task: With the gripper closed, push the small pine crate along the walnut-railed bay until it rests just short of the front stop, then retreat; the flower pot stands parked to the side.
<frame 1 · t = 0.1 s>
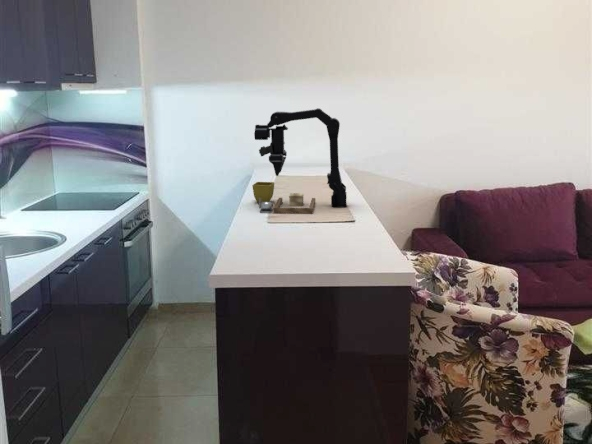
hand: (278, 174, 286), 15 cm above the table, fingers open, 9 cm apart
bay: (295, 207, 283), on the table
flower pot: (263, 202, 296), on the table
crate: (296, 204, 290), on the table
winch drum: (266, 211, 276), on the table
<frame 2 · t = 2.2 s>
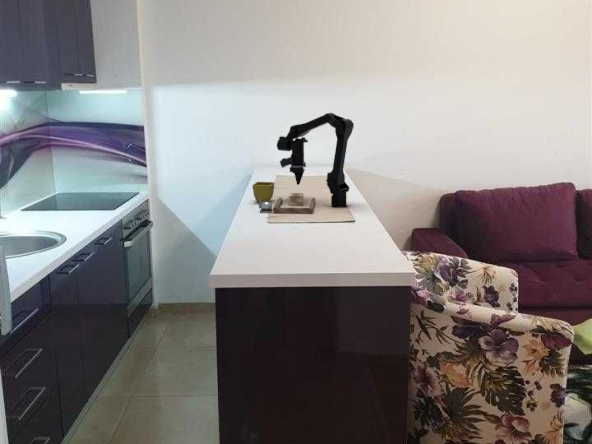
hand: (298, 184, 297), 8 cm above the table, fingers closed
nothing on the table moved.
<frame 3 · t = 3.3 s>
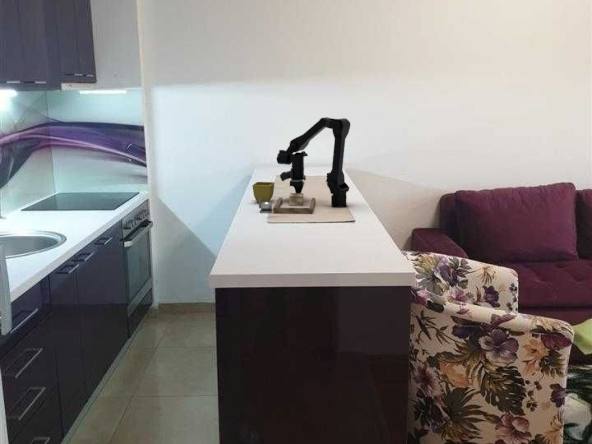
hand: (298, 197, 298), 1 cm above the table, fingers closed
nothing on the table moved.
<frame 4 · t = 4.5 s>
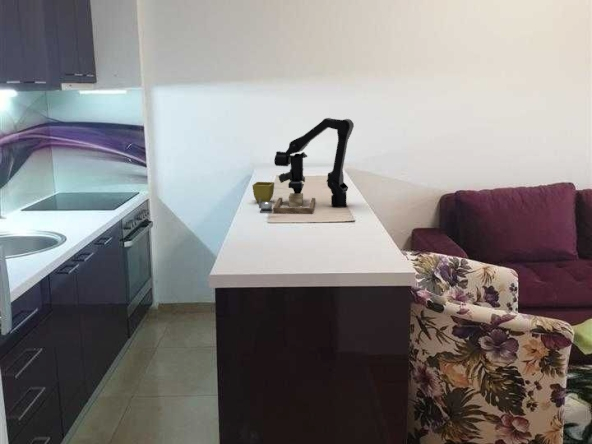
hand: (297, 199, 293), 2 cm above the table, fingers closed
crate: (296, 205, 289), on the table, touching gripper
everything else where it was.
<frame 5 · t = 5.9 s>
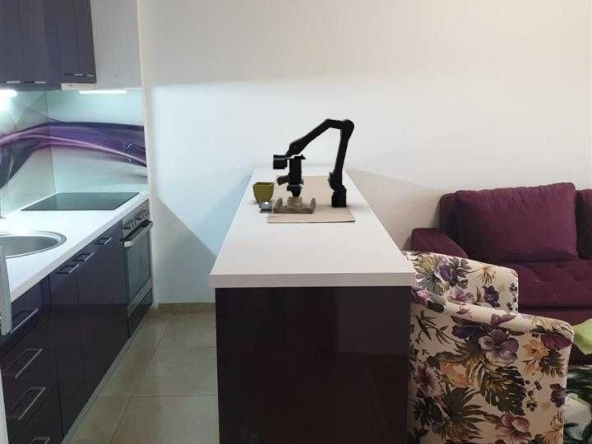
hand: (295, 203, 286), 2 cm above the table, fingers closed
crate: (294, 208, 281), on the table, touching gripper
everything else where it was.
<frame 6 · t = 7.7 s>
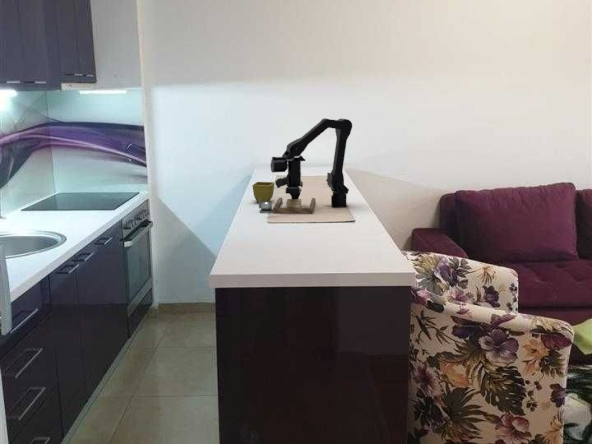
hand: (294, 205, 280), 2 cm above the table, fingers closed
crate: (293, 211, 276), on the table, touching gripper
everything else where it was.
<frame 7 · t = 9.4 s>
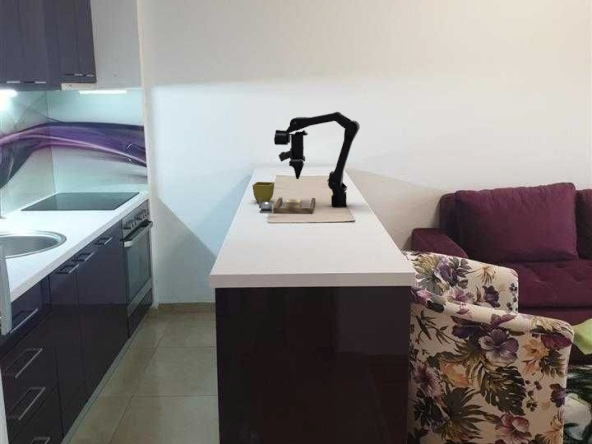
hand: (297, 179, 288), 12 cm above the table, fingers closed
crate: (293, 211, 276), on the table
everything else where it was.
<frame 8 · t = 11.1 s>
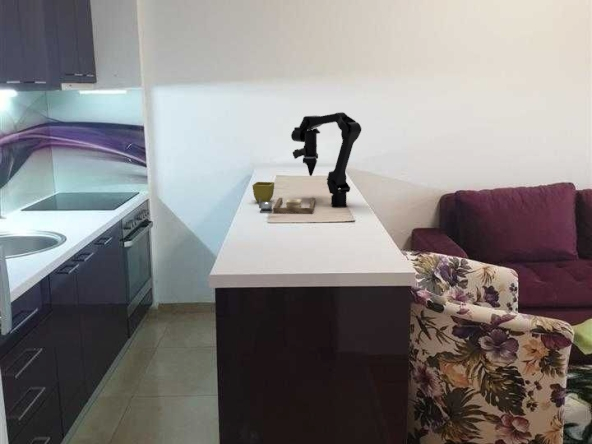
hand: (310, 175, 297), 12 cm above the table, fingers closed
nothing on the table moved.
at the end: crate inside the target area (1.0 cm from its centre), on the table; crate tilted 0°; crate moved 15.0 cm from its start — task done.
